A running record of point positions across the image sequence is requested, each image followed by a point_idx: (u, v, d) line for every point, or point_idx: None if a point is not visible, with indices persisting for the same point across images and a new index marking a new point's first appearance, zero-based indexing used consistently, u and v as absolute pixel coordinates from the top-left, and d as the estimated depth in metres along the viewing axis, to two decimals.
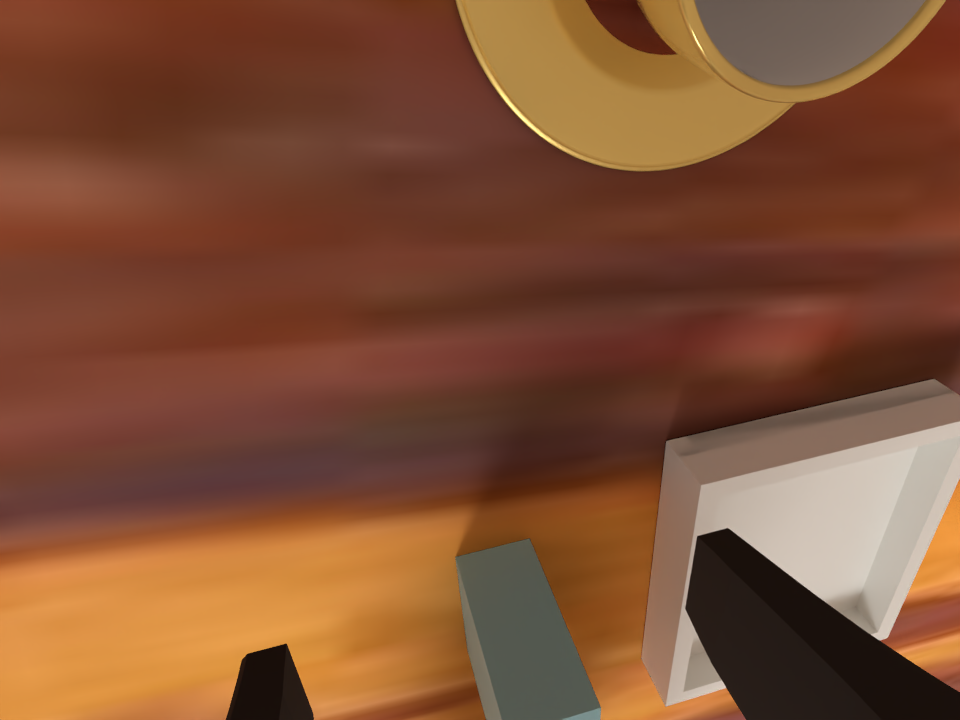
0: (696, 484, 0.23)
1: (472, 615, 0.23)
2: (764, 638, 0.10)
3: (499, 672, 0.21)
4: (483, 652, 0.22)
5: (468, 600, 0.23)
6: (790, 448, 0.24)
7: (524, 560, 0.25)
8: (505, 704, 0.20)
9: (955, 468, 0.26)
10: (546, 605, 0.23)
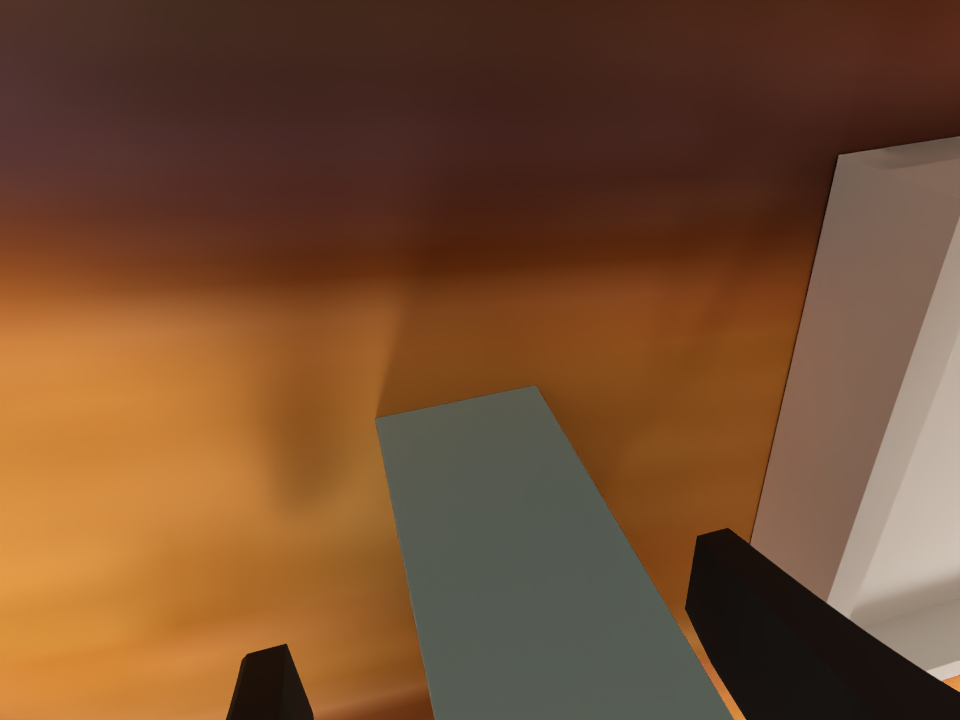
0: (945, 208, 0.09)
1: (398, 529, 0.09)
2: (764, 638, 0.10)
3: (456, 666, 0.08)
4: (416, 613, 0.08)
5: (393, 498, 0.10)
6: None
7: (525, 421, 0.11)
8: None
9: None
10: (579, 504, 0.09)
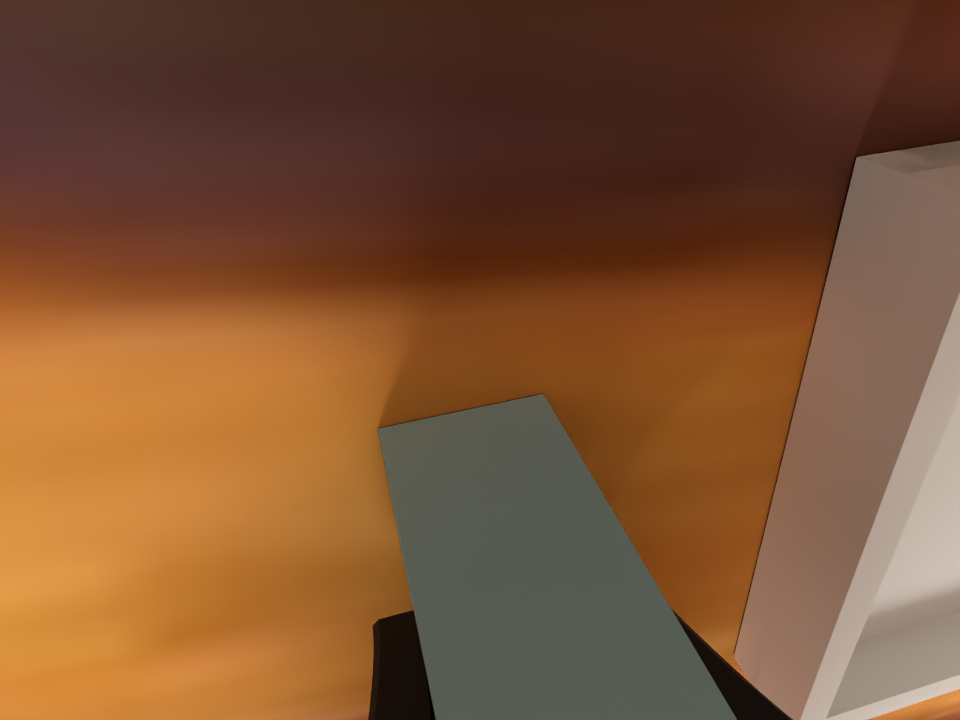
0: None
1: (403, 547, 0.09)
2: None
3: (464, 696, 0.07)
4: (422, 639, 0.08)
5: (396, 513, 0.10)
6: None
7: (533, 432, 0.11)
8: None
9: None
10: (591, 522, 0.09)
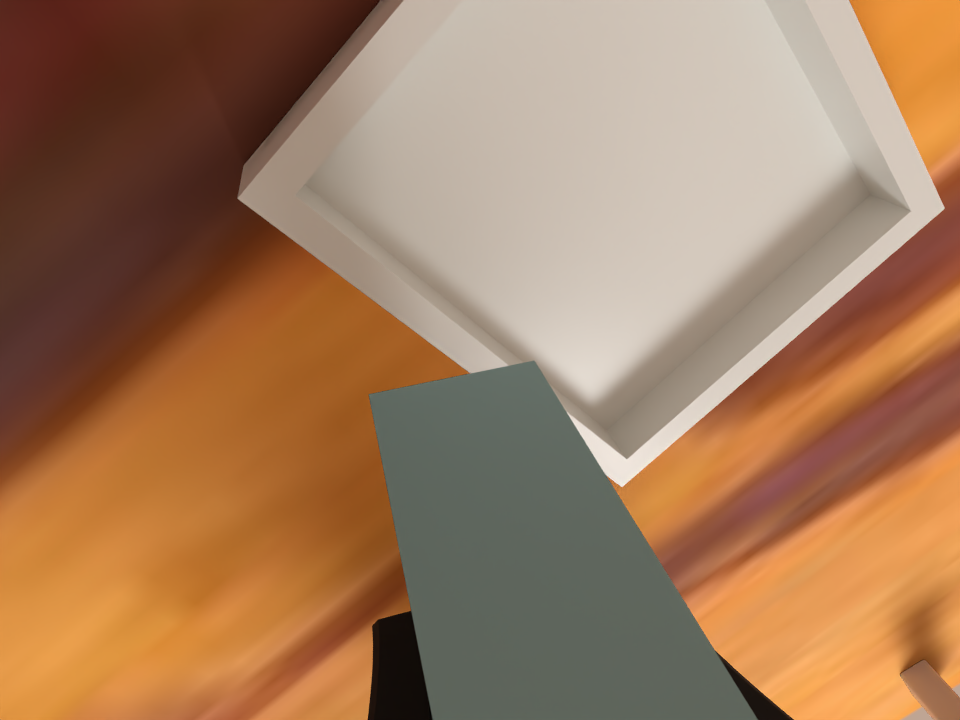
0: (246, 201, 0.14)
1: (391, 504, 0.09)
2: None
3: (449, 641, 0.07)
4: (409, 588, 0.08)
5: (386, 473, 0.10)
6: (363, 39, 0.13)
7: (523, 396, 0.11)
8: None
9: None
10: (579, 479, 0.09)
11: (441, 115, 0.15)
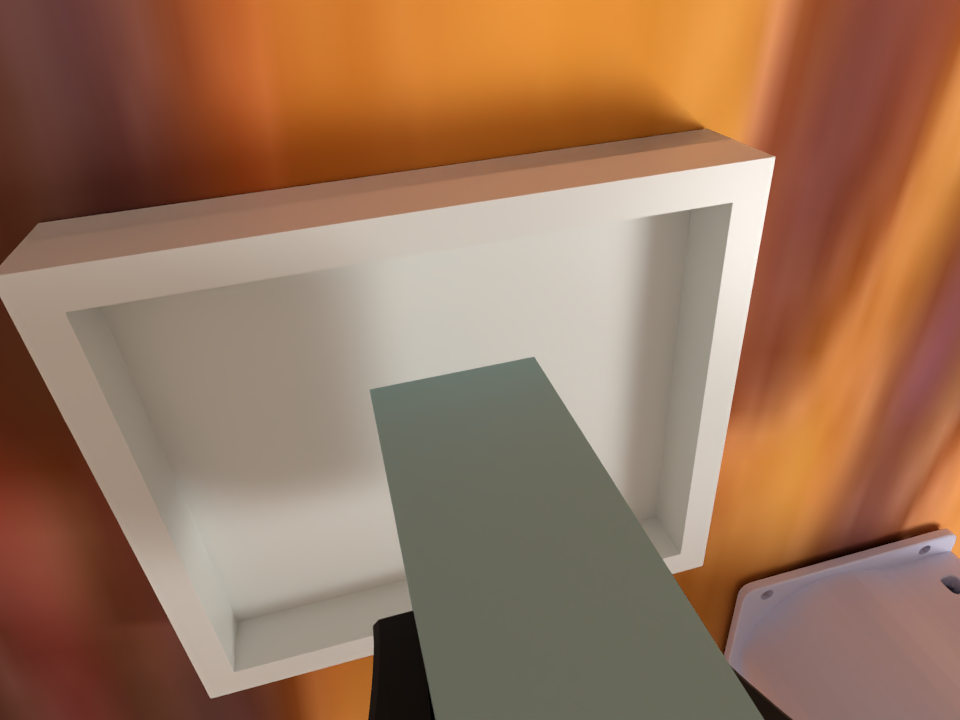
0: (219, 687, 0.17)
1: (392, 496, 0.09)
2: None
3: (450, 630, 0.07)
4: (410, 579, 0.08)
5: (386, 466, 0.10)
6: None
7: (523, 392, 0.11)
8: None
9: (174, 274, 0.11)
10: (579, 471, 0.09)
11: (267, 525, 0.16)
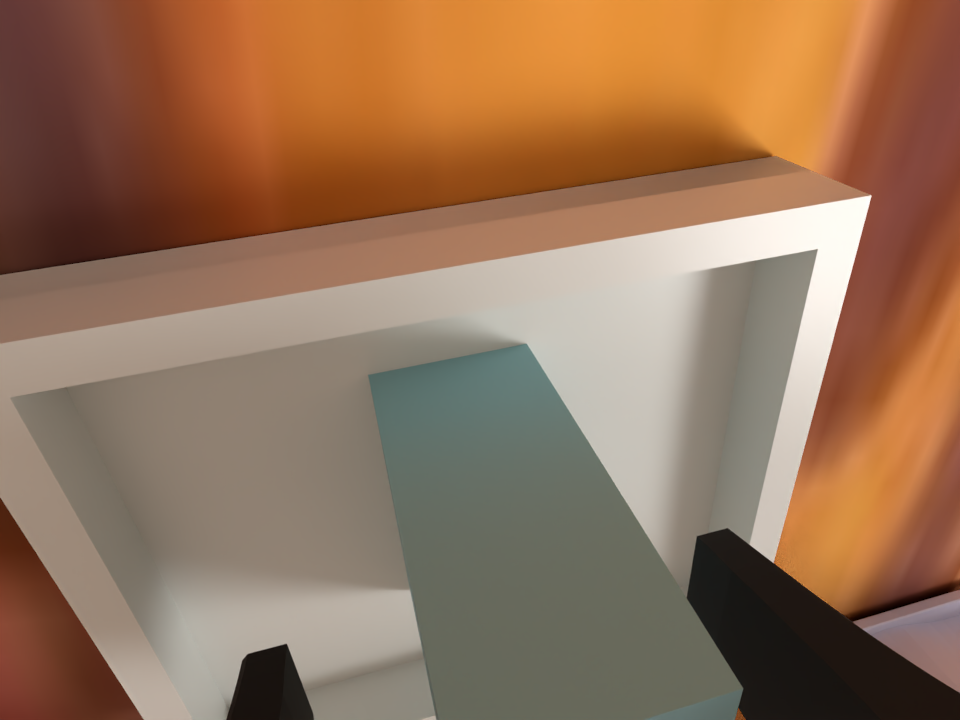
0: None
1: (390, 474, 0.10)
2: (764, 638, 0.10)
3: (443, 595, 0.08)
4: (406, 549, 0.08)
5: (384, 446, 0.10)
6: None
7: (515, 377, 0.11)
8: (453, 682, 0.07)
9: (145, 349, 0.09)
10: (567, 451, 0.10)
11: (263, 610, 0.14)
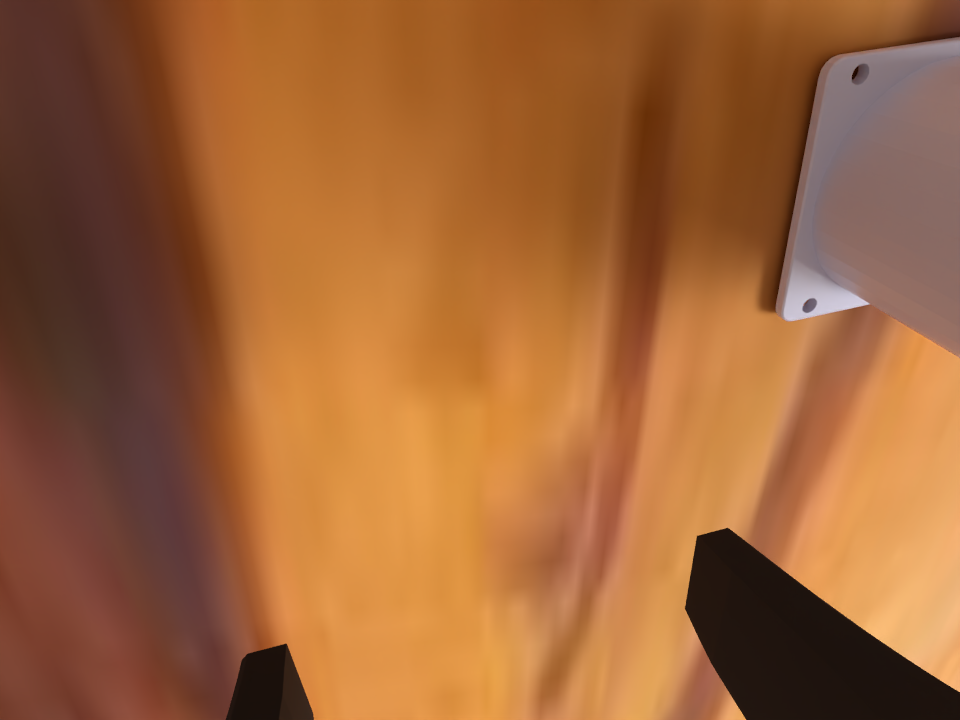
0: None
1: None
2: (765, 638, 0.10)
3: None
4: None
5: None
6: None
7: None
8: None
9: None
10: None
11: None
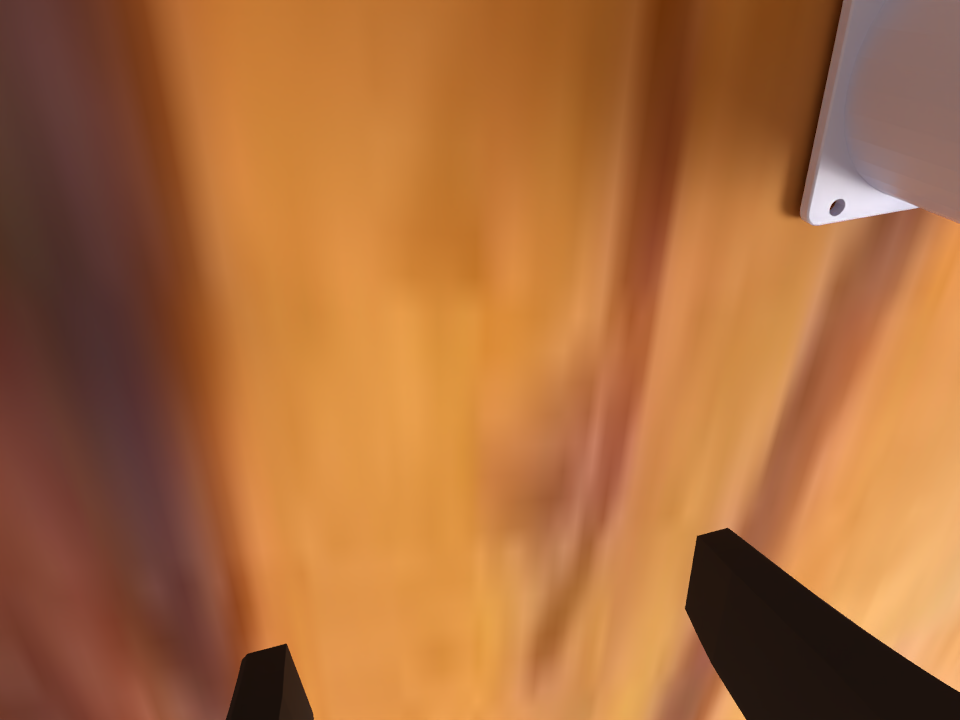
0: None
1: None
2: (764, 638, 0.10)
3: None
4: None
5: None
6: None
7: None
8: None
9: None
10: None
11: None
